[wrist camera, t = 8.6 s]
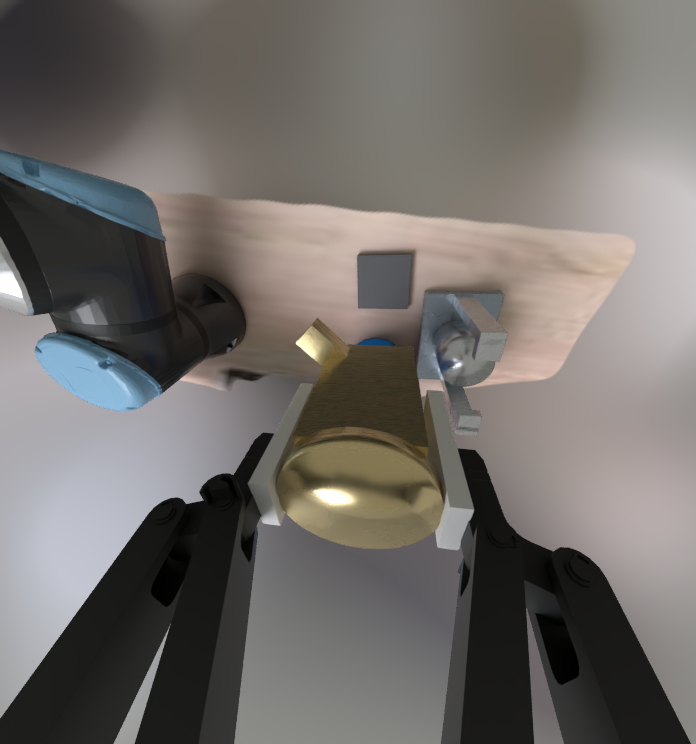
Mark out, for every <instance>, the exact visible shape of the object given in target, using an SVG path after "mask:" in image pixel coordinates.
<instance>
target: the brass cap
mask: <svg viewBox="0 0 696 744" xmlns="http://www.w3.org/2000/svg"><path fill="white" fill-rule="evenodd" d="M296 344H297V345H298V346H299V347H300V348H302V349H303V350H304V351H305V352H306V353H307V354H309V355H310V356H311V357H312V358H313V359H315V360H316V361H317V362H318V363H319V364H320V365H322V366H323V368H322V371H321V373H320V375H319V377H318V380H317V382H316V384H315V387H314V389H313V391H312V393H311V396H310V398H309V400H308V402H307V405H306V407H305V409H304V411H303V414H302V416H301V418H300V420H299V423H298V425H297V427H296V429H295V432H294V434H293V440H294V446H293V448H292V449H291V450H290V451H289V453H288V455H287V458H286V460H285V462H284V465H283V467H282V469H281V472H280V474H279V476H278V479H277V483H276V492H277V495H278V498H279V502H280V505H281V506H282V508H283V510H284V511H285V512H286V513H287V515H288V516H289V517H291V519H293V520H294V521H295V522H296V523H298V524H299V525H300V526H302V527H303V528H305V529H306V530H308V531H309V532H312V533H313V534H315V535H317V536H320V537H322V538H324V539H327V540H329V541H332V542H336V543H339V544H343V545H347V546H352V547H358V548H367V549H388V548H397V547H402V546H406V545H410V544H413V543H416V542H418V541H420V540H422V539H424V538H426V537H428V536H429V535H430V534H432V533H433V532H434V531H435V530H436V529H437V528H438V526H439V524H440V520H441V517H442V513H443V510H444V504H443V498H442V493H441V487H440V481H439V477H438V474H437V471H436V469H435V467H434V465H433V464H432V463H431V461H430V460H429V459H428V458H427V455H428V449H429V445H428V438H427V432H426V426H425V419H424V413H423V407H422V400H421V394H420V387H419V381H418V375H417V368H416V362H415V356H414V349H413V347H408V346H376V345H347V344H345V343H344V342H343V341H342V340H341V339H340V338H339V337H338V336H337V335H336V334H335V333H333V332H332V331H331V330H330V329H329V328H328V327H327V326H326V325H325V324H324V323H323V322H321V321H320V320H319V319H318V318H317V319H316V320H315V321H314V322H313V323H312V324H311V325H310V327H309V328H308V329H307V330H306V331H305V332H304V333H303V334H302V335H301V337H300V338H299V339H298V341H297V342H296Z"/></svg>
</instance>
